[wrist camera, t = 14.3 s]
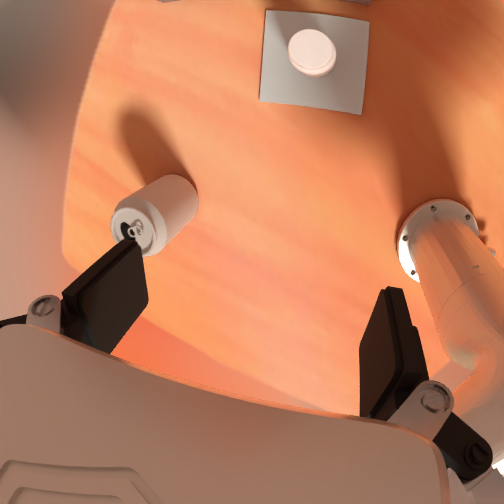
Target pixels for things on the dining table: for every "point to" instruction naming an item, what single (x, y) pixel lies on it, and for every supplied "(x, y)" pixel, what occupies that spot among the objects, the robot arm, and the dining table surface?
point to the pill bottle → (312, 53)
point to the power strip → (361, 0)
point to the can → (155, 213)
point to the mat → (315, 89)
